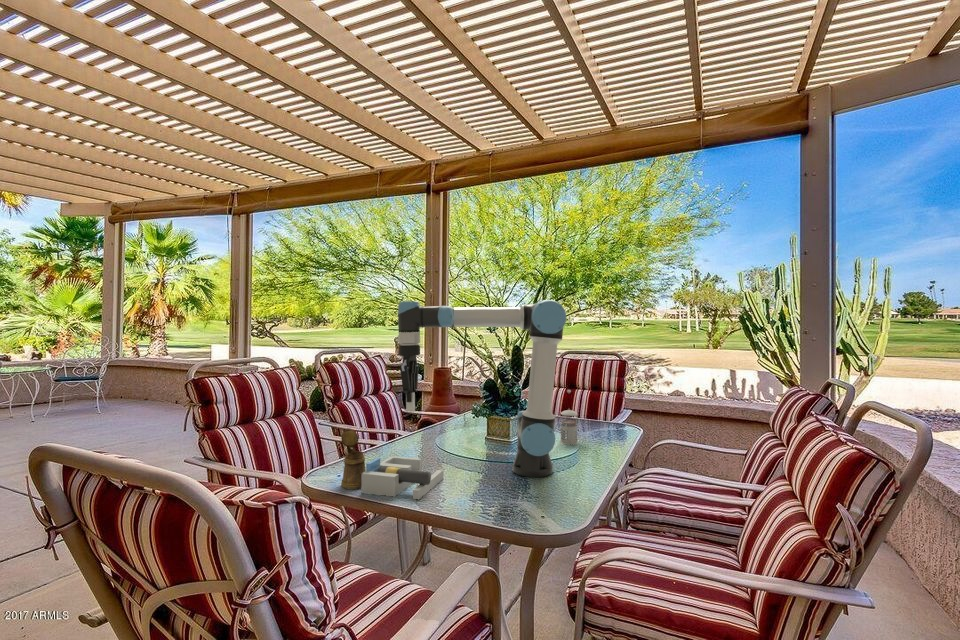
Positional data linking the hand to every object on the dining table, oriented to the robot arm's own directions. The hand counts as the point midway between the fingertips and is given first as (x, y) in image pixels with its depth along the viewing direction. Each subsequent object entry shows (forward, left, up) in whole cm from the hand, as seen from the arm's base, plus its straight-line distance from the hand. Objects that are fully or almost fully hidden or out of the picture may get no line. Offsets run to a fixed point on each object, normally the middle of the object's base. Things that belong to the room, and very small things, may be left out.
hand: (410, 410), depth 168 cm
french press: (-48, -75, -25) cm, 92 cm away
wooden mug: (+19, +7, -25) cm, 32 cm away
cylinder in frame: (+1, +4, -25) cm, 25 cm away
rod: (-2, +8, -22) cm, 24 cm away
